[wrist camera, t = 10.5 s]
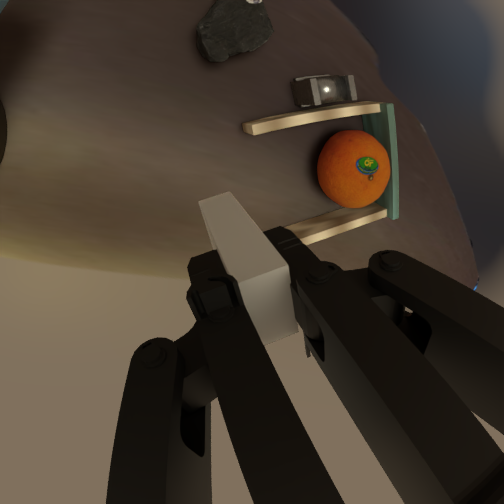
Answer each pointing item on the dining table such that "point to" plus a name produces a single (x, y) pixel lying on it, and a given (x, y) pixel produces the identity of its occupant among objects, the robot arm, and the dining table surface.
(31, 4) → the dining table surface
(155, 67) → the dining table surface
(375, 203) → the bay
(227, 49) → the rock
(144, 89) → the dining table surface
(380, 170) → the fruit
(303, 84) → the dark grey bracket
